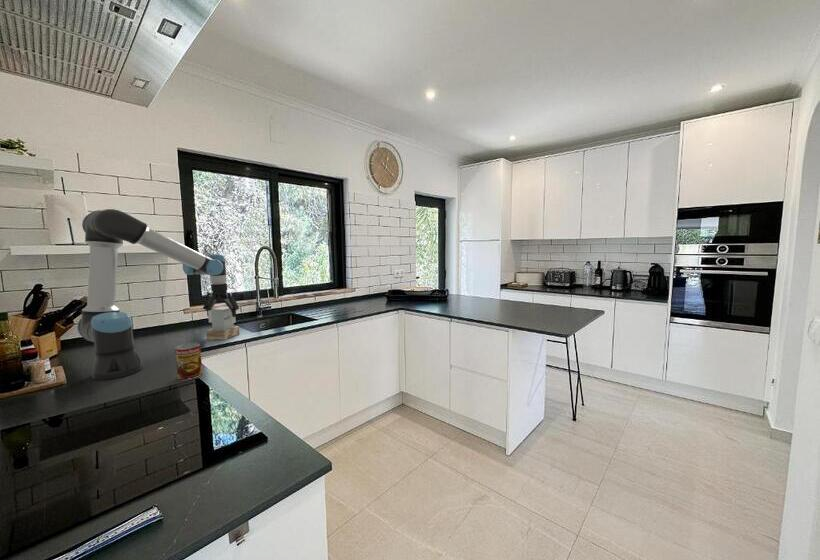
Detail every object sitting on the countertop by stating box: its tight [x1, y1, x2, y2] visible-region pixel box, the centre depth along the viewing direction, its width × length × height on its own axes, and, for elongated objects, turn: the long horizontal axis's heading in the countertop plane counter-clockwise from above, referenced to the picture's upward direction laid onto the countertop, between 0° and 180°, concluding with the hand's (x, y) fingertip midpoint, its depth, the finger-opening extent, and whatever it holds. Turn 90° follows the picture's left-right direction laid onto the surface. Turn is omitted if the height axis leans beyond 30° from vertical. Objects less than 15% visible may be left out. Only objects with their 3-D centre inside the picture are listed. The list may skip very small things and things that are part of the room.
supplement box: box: [211, 306, 235, 331], centre depth 183 cm, size 7×7×13 cm
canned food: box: [174, 342, 203, 380], centre depth 130 cm, size 8×8×12 cm
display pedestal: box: [205, 325, 240, 340], centre depth 184 cm, size 11×11×4 cm
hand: (222, 322), depth 183 cm, fingers open, 13 cm apart
